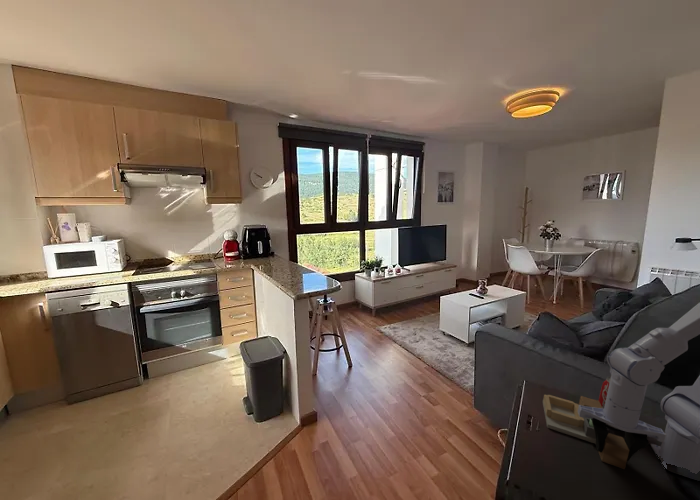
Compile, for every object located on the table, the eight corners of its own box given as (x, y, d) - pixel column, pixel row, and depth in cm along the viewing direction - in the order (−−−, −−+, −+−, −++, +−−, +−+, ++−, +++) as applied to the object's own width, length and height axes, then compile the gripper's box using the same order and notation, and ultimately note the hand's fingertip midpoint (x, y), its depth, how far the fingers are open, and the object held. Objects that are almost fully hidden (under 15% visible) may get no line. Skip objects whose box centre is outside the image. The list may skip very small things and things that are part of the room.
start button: (598, 430, 73) (600, 420, 73) (601, 437, 71) (603, 426, 71) (586, 426, 74) (588, 416, 74) (589, 433, 72) (591, 422, 72)
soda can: (632, 437, 73) (642, 395, 71) (596, 423, 77) (604, 384, 75) (627, 421, 79) (637, 382, 77) (594, 409, 83) (602, 371, 81)
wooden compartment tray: (593, 417, 79) (598, 398, 78) (605, 447, 70) (610, 425, 69) (542, 402, 85) (545, 384, 84) (547, 427, 75) (550, 407, 74)
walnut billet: (618, 455, 68) (622, 437, 67) (624, 469, 64) (629, 450, 63) (597, 448, 70) (601, 430, 69) (601, 461, 66) (606, 442, 65)
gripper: (659, 402, 64) (646, 453, 67) (579, 381, 71) (569, 428, 73) (676, 423, 58) (660, 479, 61) (586, 398, 65) (575, 449, 67)
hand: (611, 453), depth 67 cm, fingers closed on walnut billet, 4 cm apart
